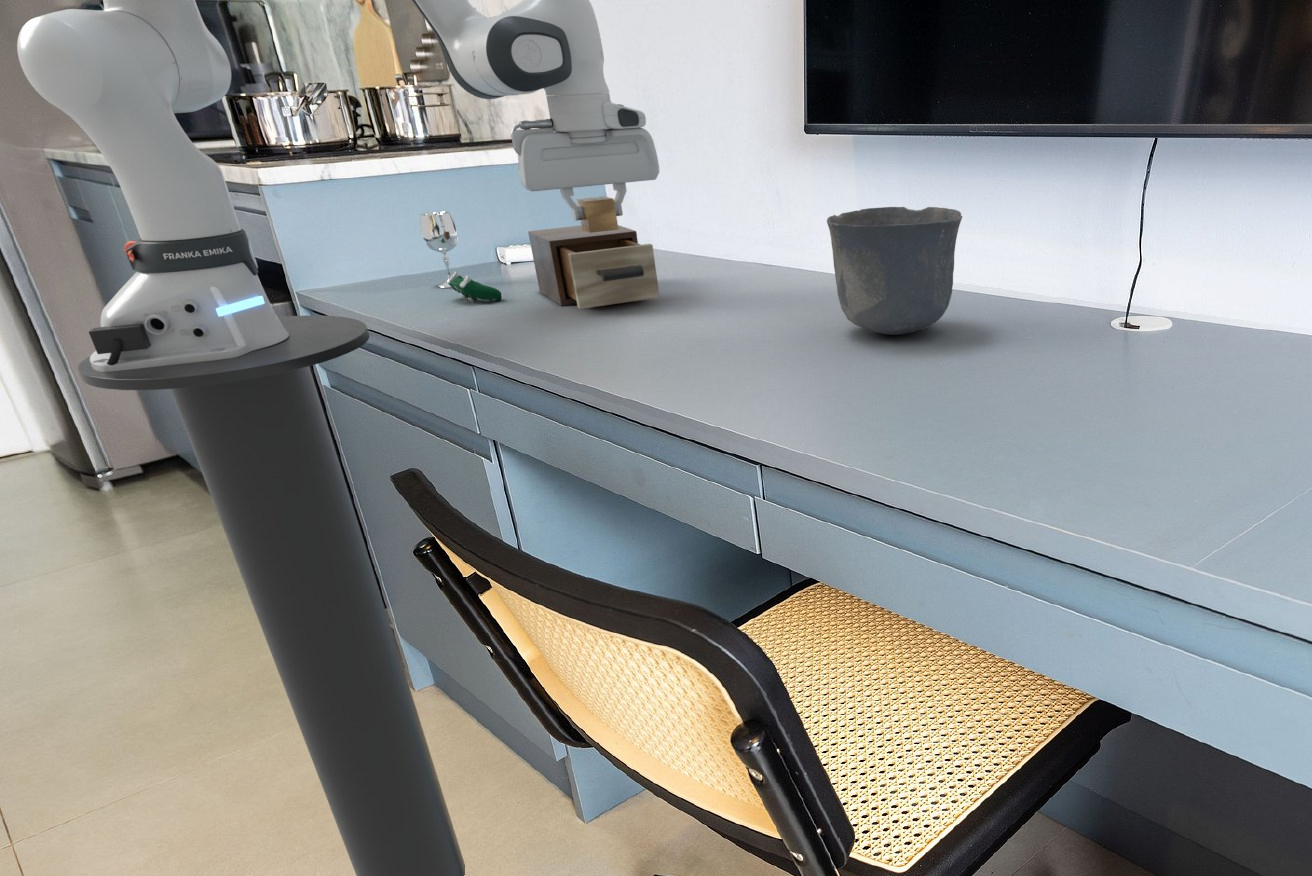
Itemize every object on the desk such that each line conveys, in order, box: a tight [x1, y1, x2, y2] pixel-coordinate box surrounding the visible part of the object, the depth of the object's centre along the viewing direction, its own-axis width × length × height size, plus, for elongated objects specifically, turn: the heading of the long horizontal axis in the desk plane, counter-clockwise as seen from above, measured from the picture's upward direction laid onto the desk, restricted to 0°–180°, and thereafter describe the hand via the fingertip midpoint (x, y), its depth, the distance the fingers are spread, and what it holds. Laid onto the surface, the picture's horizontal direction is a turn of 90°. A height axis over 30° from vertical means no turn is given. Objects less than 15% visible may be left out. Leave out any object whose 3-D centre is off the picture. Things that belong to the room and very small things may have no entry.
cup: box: [826, 206, 963, 336], centre depth 129 cm, size 18×18×15 cm
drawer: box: [556, 239, 661, 310], centre depth 154 cm, size 17×13×8 cm
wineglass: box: [419, 211, 459, 289], centre depth 174 cm, size 6×6×12 cm
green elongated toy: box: [448, 271, 503, 303], centre depth 163 cm, size 9×4×6 cm
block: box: [576, 195, 619, 233], centre depth 151 cm, size 4×4×4 cm
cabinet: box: [527, 224, 639, 307], centre depth 163 cm, size 14×14×10 cm
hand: (598, 217), depth 151 cm, fingers closed on block, 4 cm apart
